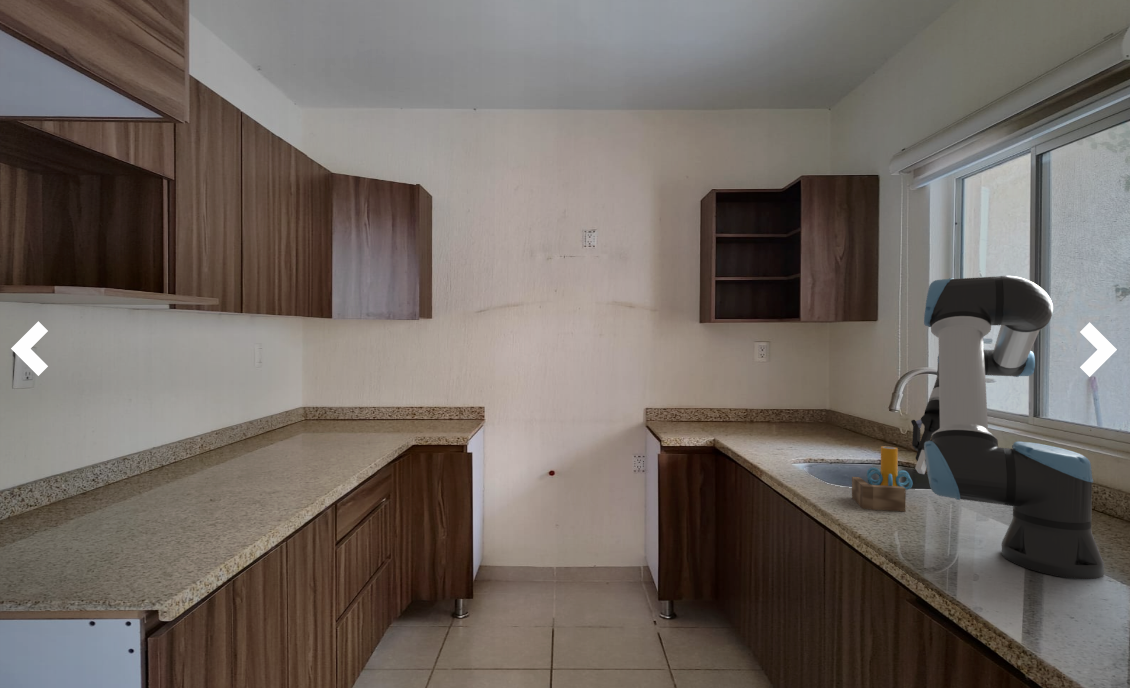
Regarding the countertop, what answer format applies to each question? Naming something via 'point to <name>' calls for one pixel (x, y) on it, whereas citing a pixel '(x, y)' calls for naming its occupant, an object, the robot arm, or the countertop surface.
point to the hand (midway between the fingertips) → (919, 471)
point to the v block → (878, 496)
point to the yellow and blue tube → (889, 470)
